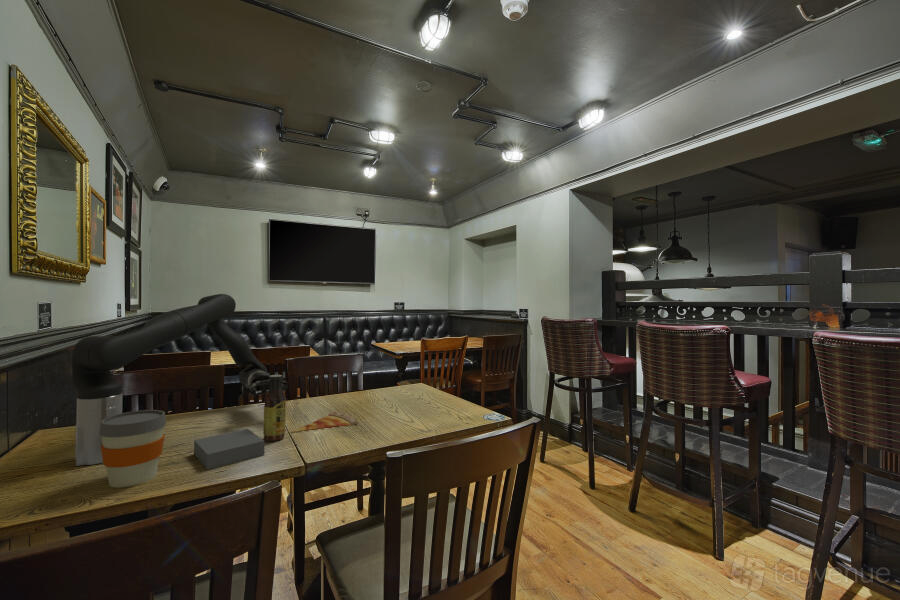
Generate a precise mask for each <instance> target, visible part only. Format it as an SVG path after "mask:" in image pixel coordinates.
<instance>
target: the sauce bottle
mask: <svg viewBox="0 0 900 600" xmlns="http://www.w3.org/2000/svg"><path fill="white" fill-rule="evenodd" d="M282 380H284V378H283V375H282V374H272V375H269V392H268V393H266V395H265V397H264V407H263V440H264V441H266V442H277V441H280V440H283V439H284V438H285V433H286V413H287V412H286V410H287V409H286V408H287V407H286V406H287V405H286V404H287V399H286V396H285V393H284V391H283V390H282Z"/></svg>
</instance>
